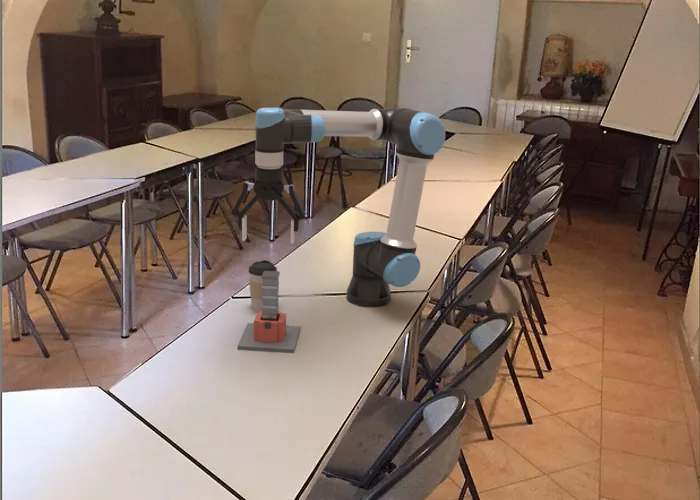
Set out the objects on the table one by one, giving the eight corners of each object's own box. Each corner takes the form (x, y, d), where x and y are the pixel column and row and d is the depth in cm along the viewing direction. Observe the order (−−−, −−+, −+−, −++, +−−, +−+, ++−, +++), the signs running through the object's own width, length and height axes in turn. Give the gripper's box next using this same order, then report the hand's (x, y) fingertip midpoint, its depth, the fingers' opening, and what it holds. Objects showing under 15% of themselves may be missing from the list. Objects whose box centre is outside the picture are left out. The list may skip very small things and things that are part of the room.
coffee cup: (271, 314, 226) (272, 269, 221) (244, 310, 227) (244, 266, 223) (280, 303, 234) (280, 260, 230) (253, 300, 236) (253, 257, 231)
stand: (300, 329, 216) (300, 307, 214) (293, 352, 201) (294, 329, 199) (247, 326, 217) (247, 304, 214) (237, 349, 201) (237, 325, 199)
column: (278, 332, 210) (279, 271, 205) (276, 338, 206) (277, 276, 200) (263, 331, 211) (264, 270, 205) (261, 337, 206) (261, 275, 200)
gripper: (316, 166, 197) (314, 239, 204) (226, 160, 198) (227, 234, 204) (313, 171, 190) (311, 247, 196) (220, 166, 191) (221, 242, 197)
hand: (268, 240), depth 200 cm, fingers open, 13 cm apart
